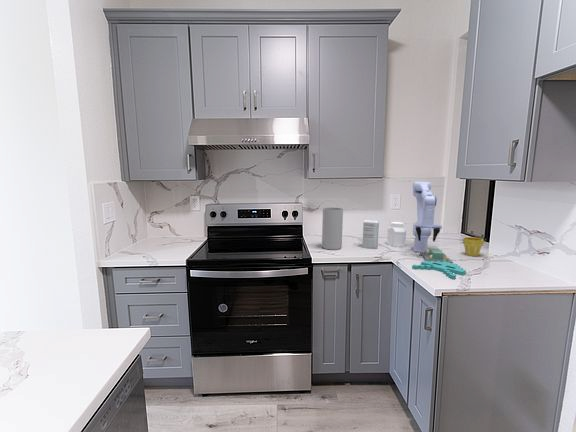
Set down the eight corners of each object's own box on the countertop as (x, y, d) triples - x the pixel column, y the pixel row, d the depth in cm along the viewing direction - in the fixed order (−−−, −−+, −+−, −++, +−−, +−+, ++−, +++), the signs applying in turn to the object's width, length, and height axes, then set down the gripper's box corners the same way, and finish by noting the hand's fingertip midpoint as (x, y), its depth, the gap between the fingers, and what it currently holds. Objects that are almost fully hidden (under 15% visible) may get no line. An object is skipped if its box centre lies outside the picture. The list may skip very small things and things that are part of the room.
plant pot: (458, 254, 181) (460, 238, 180) (465, 251, 188) (467, 236, 187) (478, 258, 174) (479, 241, 172) (484, 255, 180) (486, 238, 179)
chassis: (420, 253, 182) (420, 247, 182) (443, 255, 179) (444, 249, 179) (426, 262, 165) (427, 255, 164) (452, 263, 162) (453, 257, 162)
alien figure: (453, 280, 138) (471, 271, 151) (453, 275, 138) (471, 267, 151) (412, 269, 154) (431, 262, 166) (412, 265, 153) (431, 258, 166)
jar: (408, 246, 200) (409, 223, 198) (397, 247, 196) (398, 224, 194) (395, 242, 210) (396, 221, 208) (384, 243, 206) (385, 222, 204)
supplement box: (363, 244, 204) (364, 219, 202) (377, 245, 201) (379, 220, 199) (362, 247, 195) (363, 221, 193) (377, 249, 192) (378, 222, 190)
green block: (428, 253, 178) (429, 248, 177) (438, 254, 177) (438, 248, 176) (433, 259, 167) (433, 252, 167) (443, 259, 166) (443, 253, 166)
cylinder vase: (339, 250, 187) (341, 210, 183) (319, 249, 191) (320, 209, 187) (343, 246, 199) (344, 208, 195) (324, 244, 203) (325, 207, 199)
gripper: (415, 217, 170) (414, 241, 172) (444, 218, 166) (442, 243, 168) (413, 215, 176) (412, 238, 178) (440, 217, 173) (438, 240, 175)
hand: (426, 240), depth 174 cm, fingers open, 7 cm apart
